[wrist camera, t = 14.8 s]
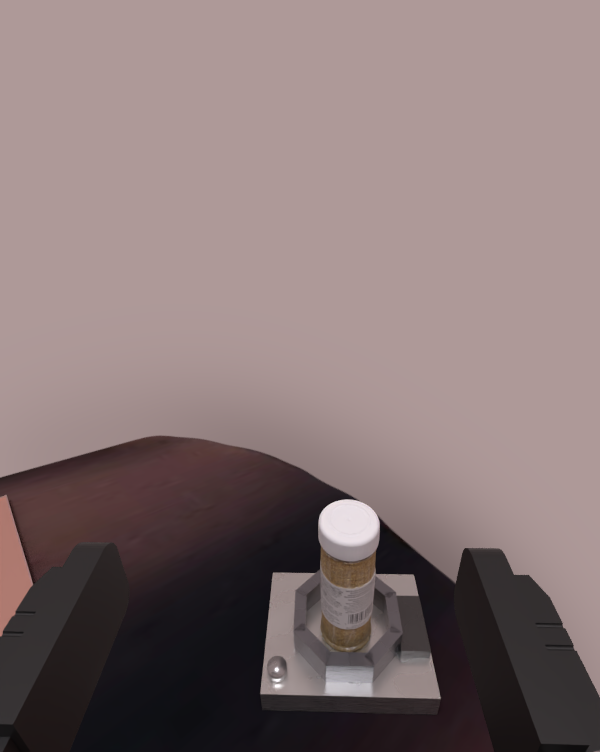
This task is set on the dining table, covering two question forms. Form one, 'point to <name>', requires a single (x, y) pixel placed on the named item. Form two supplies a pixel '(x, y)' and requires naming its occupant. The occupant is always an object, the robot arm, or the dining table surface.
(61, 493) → the dining table surface
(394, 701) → the octagonal ring base plate
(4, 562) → the notebook
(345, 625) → the sprinkles bottle
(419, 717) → the dining table surface
